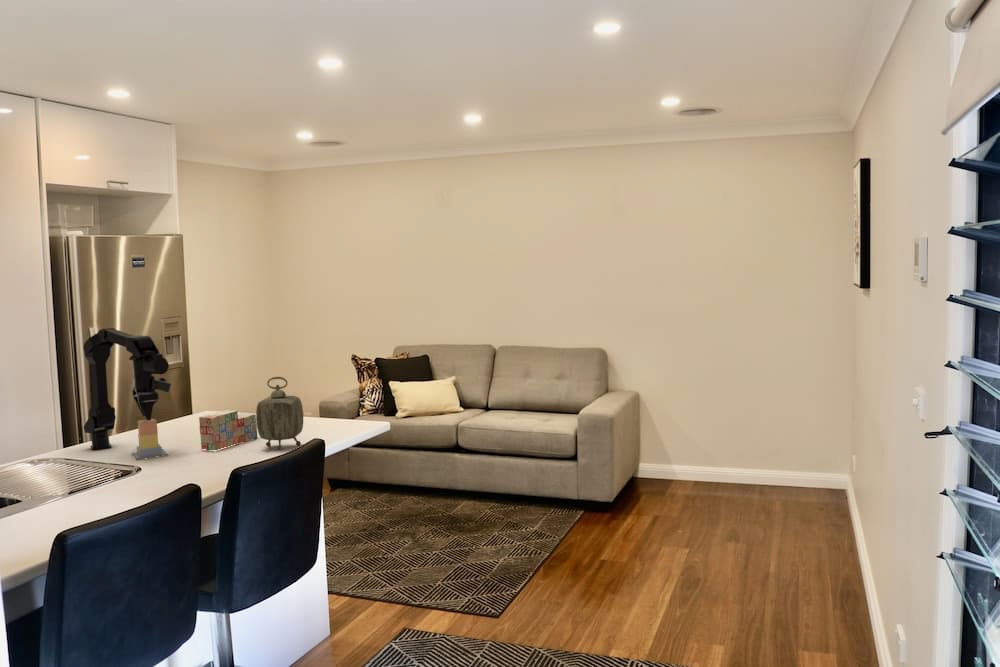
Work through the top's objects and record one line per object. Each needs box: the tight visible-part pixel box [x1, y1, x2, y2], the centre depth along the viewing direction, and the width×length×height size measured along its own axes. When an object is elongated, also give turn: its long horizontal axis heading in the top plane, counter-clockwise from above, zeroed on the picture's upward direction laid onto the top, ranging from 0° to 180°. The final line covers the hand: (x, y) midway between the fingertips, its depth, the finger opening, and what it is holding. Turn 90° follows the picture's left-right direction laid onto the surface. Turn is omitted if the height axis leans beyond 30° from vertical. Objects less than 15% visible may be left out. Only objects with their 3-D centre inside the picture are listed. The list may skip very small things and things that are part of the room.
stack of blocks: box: [198, 409, 258, 450], centre depth 300 cm, size 21×6×12 cm, turn 153°
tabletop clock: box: [255, 376, 304, 450], centre depth 291 cm, size 14×9×25 cm, turn 89°
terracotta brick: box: [137, 418, 159, 436], centre depth 288 cm, size 6×6×4 cm
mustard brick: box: [137, 433, 159, 449], centre depth 288 cm, size 6×6×4 cm
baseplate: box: [131, 443, 168, 461], centre depth 289 cm, size 10×10×3 cm
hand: (146, 418), depth 288 cm, fingers open, 9 cm apart
